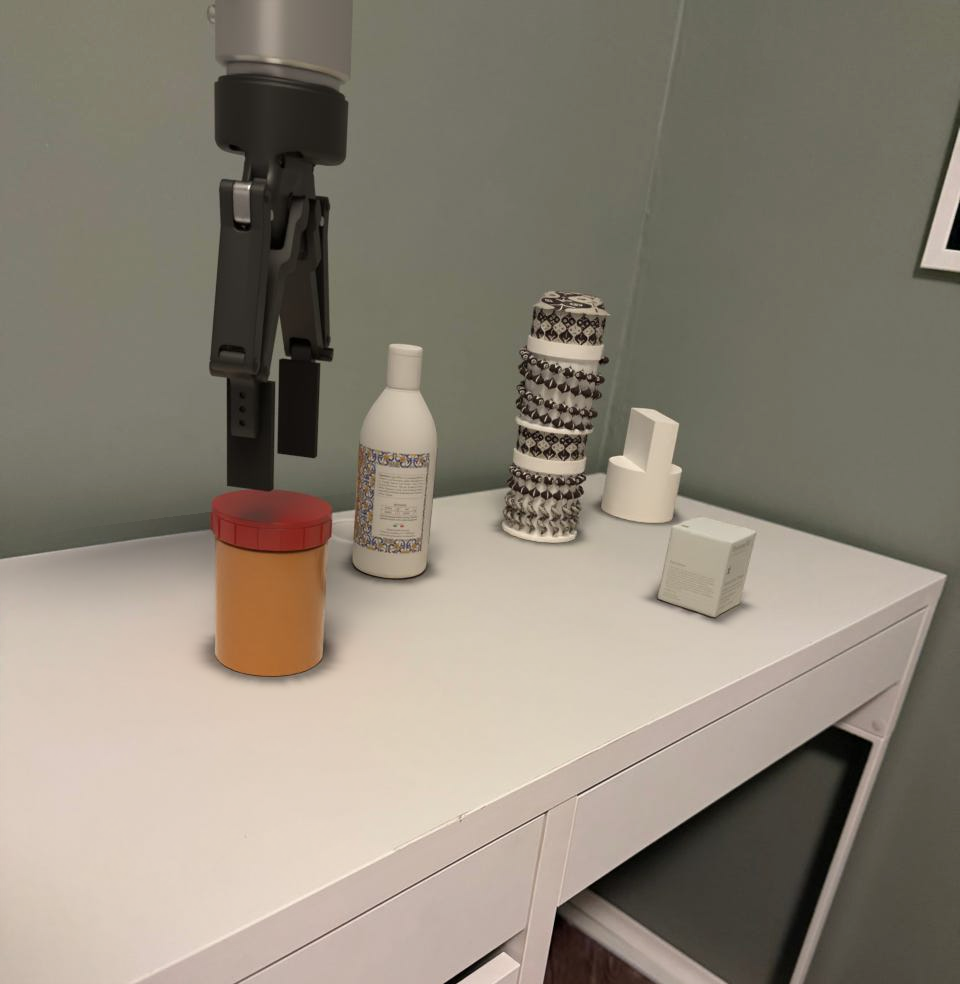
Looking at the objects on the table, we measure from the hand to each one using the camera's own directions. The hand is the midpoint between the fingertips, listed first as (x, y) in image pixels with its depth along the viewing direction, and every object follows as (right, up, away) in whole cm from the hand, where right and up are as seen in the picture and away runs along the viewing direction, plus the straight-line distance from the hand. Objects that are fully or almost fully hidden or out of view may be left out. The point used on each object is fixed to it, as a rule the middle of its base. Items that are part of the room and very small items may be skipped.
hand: (275, 469), depth 61 cm
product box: (+34, -8, +26) cm, 44 cm away
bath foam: (+5, -5, +25) cm, 26 cm away
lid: (0, -3, +1) cm, 3 cm away
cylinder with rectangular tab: (+33, +4, +54) cm, 64 cm away
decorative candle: (+20, +1, +42) cm, 46 cm away
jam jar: (-2, -12, +6) cm, 14 cm away
